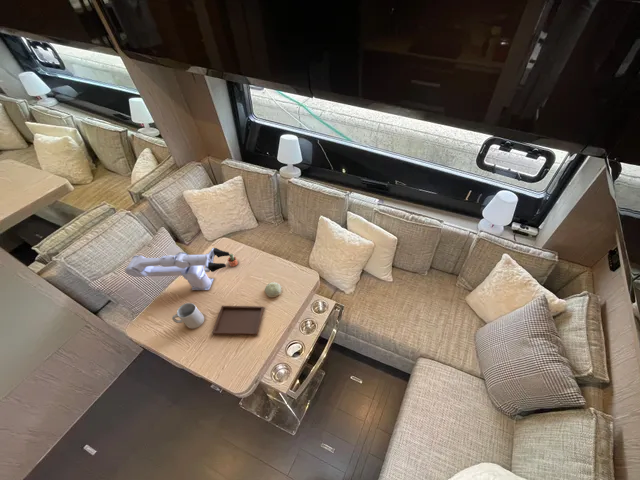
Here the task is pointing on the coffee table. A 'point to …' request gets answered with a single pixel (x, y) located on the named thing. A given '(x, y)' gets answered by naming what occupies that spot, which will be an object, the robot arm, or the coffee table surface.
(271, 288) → the sea urchin shell
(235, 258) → the cup
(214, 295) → the coffee table surface
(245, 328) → the tray
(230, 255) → the muddler
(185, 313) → the mug
